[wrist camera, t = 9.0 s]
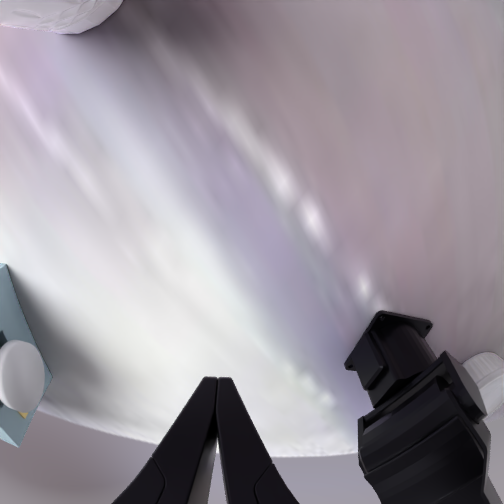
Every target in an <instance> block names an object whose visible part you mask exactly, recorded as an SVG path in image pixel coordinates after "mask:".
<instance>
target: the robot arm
mask: <svg viewBox="0 0 504 504" xmlns="http://www.w3.org/2000/svg"><path fill="white" fill-rule="evenodd" d="M381 316H382V317H381ZM380 317H381V318H380ZM431 328H432V323H431V322H430V321H429V320H425V319H420V318H415V317H410V316H406V315H401V314H396V313H392V312H387V311H379V312H377V313H376V314H375V316H374V318H373V319H372V321H371V323H370V324H369V326H368V328H367V329H366V331H365V332H364V334H363V336H362V337H361V339H360V340H359V342H358V343H357V345H356V347H355V348H354V350H353V351H352V353H351V354H350V356H349V357H348V359H347V360H346V362H345V363H344V366H345V369H346V370H351V371H357V373H358V376H359V378H360V381H361V384H362V386H363V389H364V390H367V392H368V394H369V397H370V400H371V402H372V405H373V408H375V409H374V410H373V411H371V412H370V413H368V414H367V415H365V416H362V417H361V418H359V419H358V456H359V457H358V458H359V466H360V467H361V469H362V471H363V473H364V478H365V479H366V480H367V481H368V482H369V483H370V485H371V486H372V487H373V489H374V490H375V492H376V493H377V495H378V497H379V499H380V501H381V504H503V503H502V501H501V499H500V498H499V496H498V494H497V492H496V490H495V488H494V486H493V484H492V483H491V481H490V479H489V477H488V469H489V459H490V444H491V434H490V431H489V430H488V428H487V426H486V425H485V423H484V421H483V419H484V418H485V417H487V415H488V414H487V411H486V408H485V405H484V402H483V399H482V396H481V394H480V391H479V388H478V386H477V385H476V383H475V382H474V380H473V379H472V377H471V376H470V374H469V373H468V372H467V370H466V369H465V368H464V367H463V366H462V365H461V364H460V363H459V362H458V361H457V360H456V359H455V358H453V357H452V356H451V355H450V354H449V353H448V352H447V351H446V350H445V351H444V352H443V353H442V354H440V357H439V358H438V359H437V358H436V356H435V355H434V353H433V351H432V350H431V348H430V347H429V345H428V344H427V342H426V341H425V339H424V338H425V337H426V335H427V334H428V332H429V331H430V329H431ZM217 440H218V444H219V453H220V460H221V467H222V474H223V481H224V488H225V495H226V501H227V504H299V502H298V501H297V500H296V499H295V497H294V496H293V494H292V493H291V492H290V490H289V489H288V488H287V486H286V484H285V483H284V481H283V479H282V478H281V476H280V475H279V473H278V471H277V469H276V467H275V465H274V464H273V463H272V460H271V458H270V456H269V454H268V452H267V450H266V448H265V446H264V444H263V442H262V440H261V438H260V436H259V434H258V432H257V430H256V428H255V426H254V424H253V422H252V420H251V418H250V416H249V414H248V412H247V410H246V408H245V405H244V403H243V401H242V399H241V397H240V395H239V393H238V391H237V388H236V386H235V384H234V382H233V380H232V378H230V377H219V378H217V377H207V376H206V377H204V378H203V379H202V381H201V382H200V384H199V385H198V387H197V388H196V390H195V391H194V393H193V394H192V396H191V397H190V399H189V400H188V402H187V403H186V405H185V407H184V408H183V410H182V411H181V413H180V414H179V416H178V417H177V419H176V420H175V422H174V423H173V425H172V426H171V428H170V429H169V431H168V432H167V434H166V435H165V437H164V438H163V439H162V441H161V442H160V444H159V445H158V447H157V448H156V450H155V451H154V453H153V454H152V457H150V458H149V460H148V461H147V463H146V464H145V466H144V467H143V469H142V470H141V471H140V472H139V474H138V475H137V476H136V478H135V479H134V480H133V481H132V482H131V483H130V485H129V486H128V487H127V488H126V489H125V490H124V491H123V492H122V493H121V494H120V495H119V496H118V497H117V499H115V500H114V502H113V503H112V504H208V497H209V491H210V485H211V479H212V472H213V466H214V460H215V454H216V448H217Z"/></svg>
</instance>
